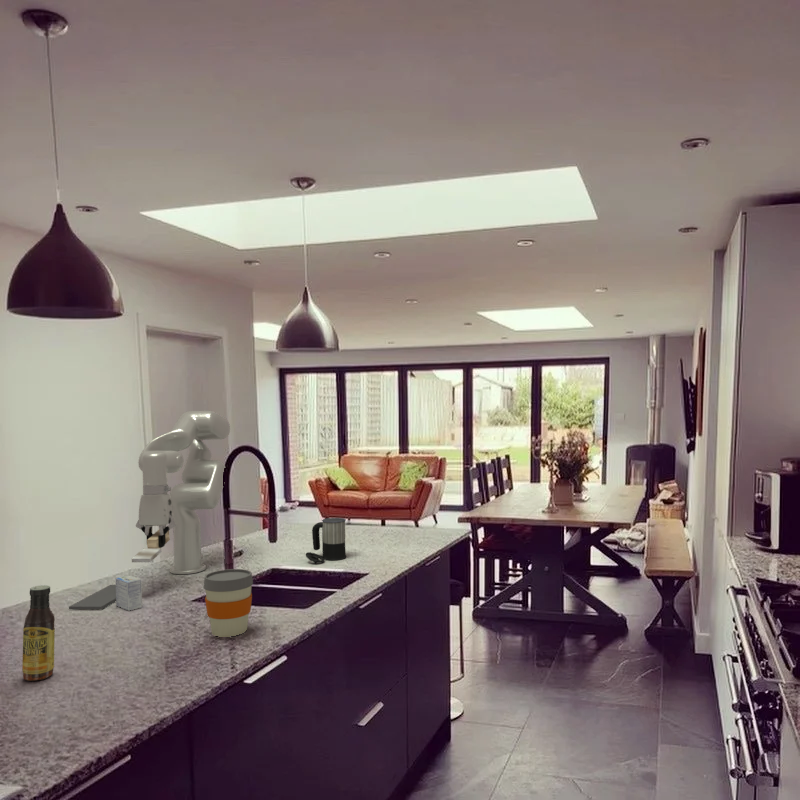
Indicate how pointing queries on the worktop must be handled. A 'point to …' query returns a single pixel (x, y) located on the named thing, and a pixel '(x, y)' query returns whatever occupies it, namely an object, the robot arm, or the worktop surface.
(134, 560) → the beige curved piece
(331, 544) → the milk frother
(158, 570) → the worktop surface
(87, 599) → the mat
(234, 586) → the reusable coffee cup
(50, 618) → the sauce bottle
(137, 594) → the medicine box
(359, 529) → the worktop surface
